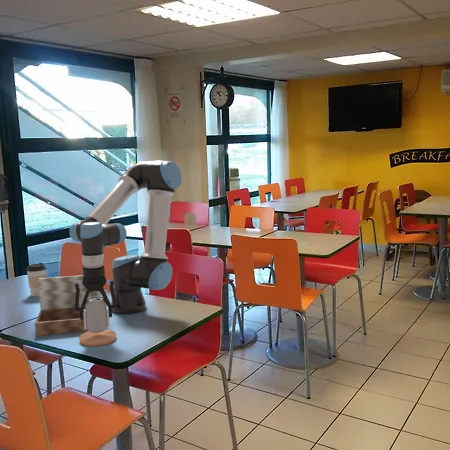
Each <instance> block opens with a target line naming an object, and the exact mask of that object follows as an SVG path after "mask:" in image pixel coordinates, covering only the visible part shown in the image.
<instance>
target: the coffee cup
mask: <svg viewBox="0 0 450 450" xmlns="http://www.w3.org/2000/svg"><path fill="white" fill-rule="evenodd" d="M25 271H26V272H27V281H28V288H29V290H30V291H29V292H30V297H40V296H39V283H38V278H47V266H45V264H44V263H43V262H40V263H31V264H29V265H28V267H26V270H25Z"/></svg>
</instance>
